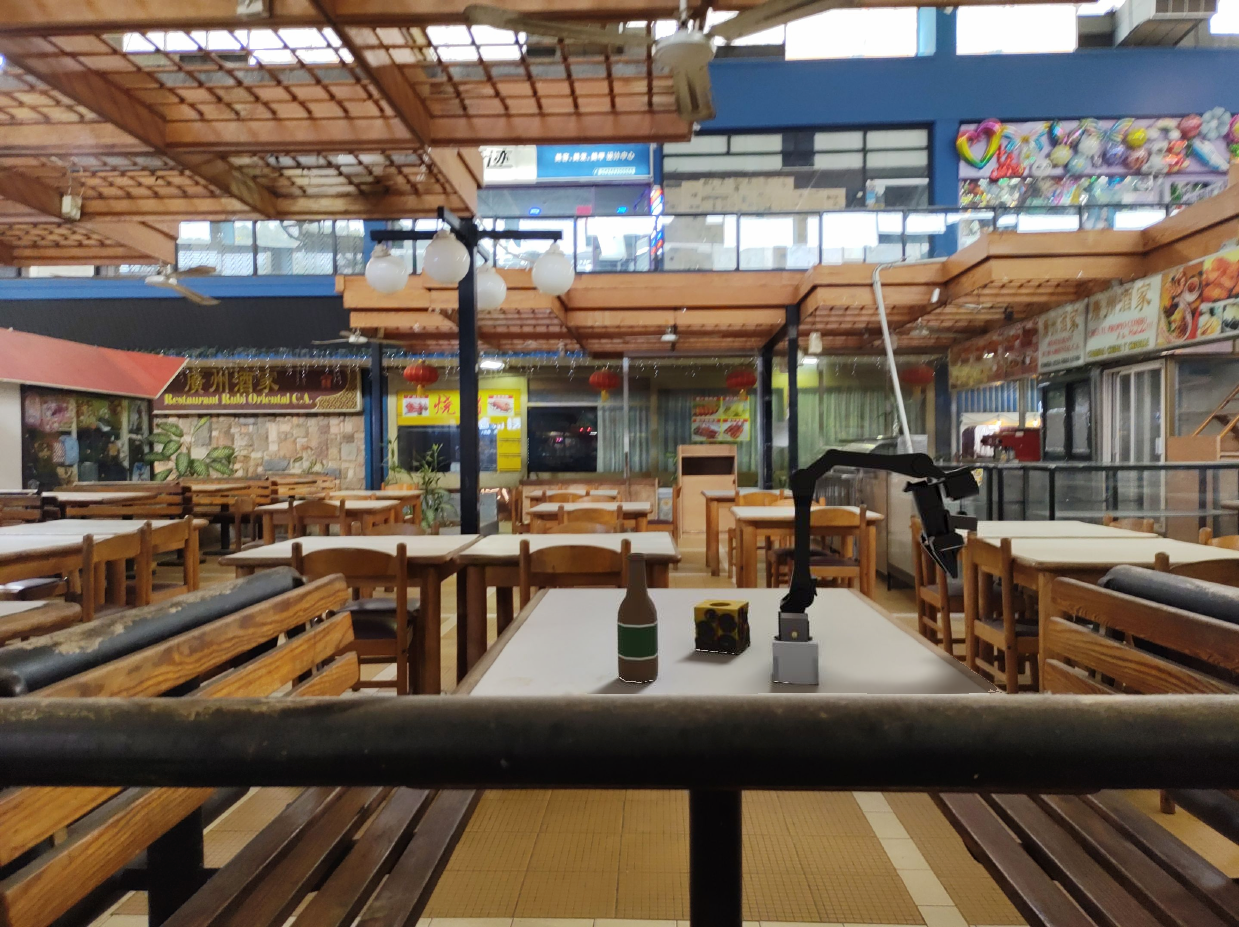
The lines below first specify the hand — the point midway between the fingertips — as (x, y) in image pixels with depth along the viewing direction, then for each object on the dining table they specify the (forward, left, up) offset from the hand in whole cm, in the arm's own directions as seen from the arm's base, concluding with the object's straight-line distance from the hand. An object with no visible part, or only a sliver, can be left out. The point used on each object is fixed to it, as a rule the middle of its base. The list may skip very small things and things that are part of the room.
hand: (950, 575), depth 159 cm
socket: (-7, -45, -16) cm, 48 cm away
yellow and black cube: (-32, -40, -16) cm, 53 cm away
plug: (-12, -39, -16) cm, 44 cm away
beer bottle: (-26, -69, -16) cm, 75 cm away
